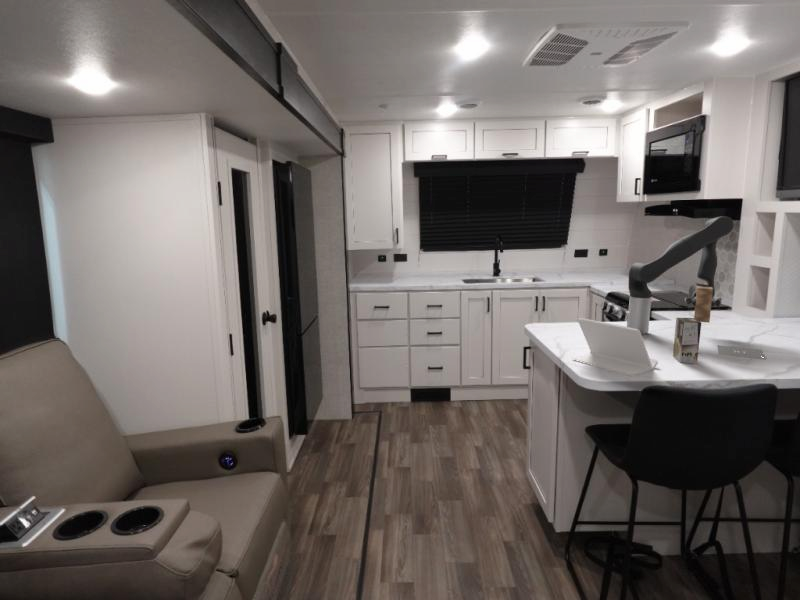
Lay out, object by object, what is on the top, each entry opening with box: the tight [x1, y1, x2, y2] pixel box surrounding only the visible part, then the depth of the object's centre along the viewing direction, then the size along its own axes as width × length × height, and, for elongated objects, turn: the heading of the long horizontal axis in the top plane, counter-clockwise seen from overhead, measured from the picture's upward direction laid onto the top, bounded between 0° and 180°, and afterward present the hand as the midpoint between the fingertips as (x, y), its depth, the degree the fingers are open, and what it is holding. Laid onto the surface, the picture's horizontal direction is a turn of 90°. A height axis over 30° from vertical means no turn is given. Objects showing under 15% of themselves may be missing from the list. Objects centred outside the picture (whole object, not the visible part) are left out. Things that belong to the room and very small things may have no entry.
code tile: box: [716, 344, 767, 361], centre depth 210 cm, size 16×16×1 cm
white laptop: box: [572, 317, 659, 377], centre depth 195 cm, size 18×25×17 cm
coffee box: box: [672, 317, 702, 364], centre depth 199 cm, size 9×6×16 cm
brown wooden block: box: [693, 286, 713, 323], centre depth 214 cm, size 6×6×14 cm
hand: (703, 304), depth 212 cm, fingers closed on brown wooden block, 5 cm apart
